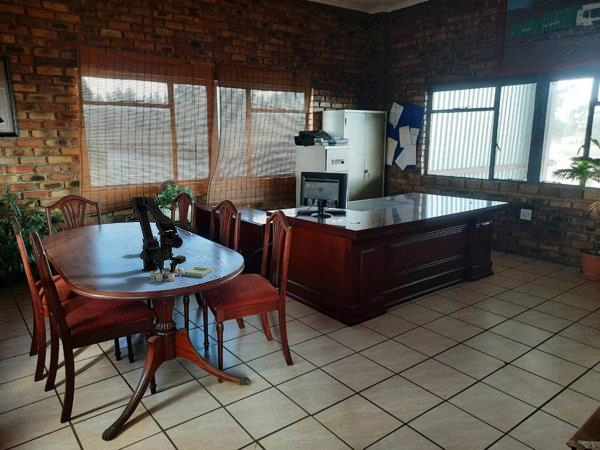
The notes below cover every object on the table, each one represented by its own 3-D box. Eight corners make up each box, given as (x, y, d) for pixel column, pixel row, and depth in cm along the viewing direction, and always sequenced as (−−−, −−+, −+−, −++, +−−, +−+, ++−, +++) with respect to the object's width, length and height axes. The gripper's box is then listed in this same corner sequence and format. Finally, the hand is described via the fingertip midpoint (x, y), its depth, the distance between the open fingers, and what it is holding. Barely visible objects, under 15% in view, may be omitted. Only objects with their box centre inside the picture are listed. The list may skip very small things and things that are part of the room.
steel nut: (159, 277, 221) (159, 269, 220) (165, 274, 225) (165, 267, 225) (168, 278, 219) (168, 270, 219) (174, 275, 224) (174, 268, 223)
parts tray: (184, 275, 224) (184, 271, 224) (194, 270, 234) (194, 266, 233) (202, 277, 222) (202, 273, 221) (211, 272, 231) (211, 268, 231)
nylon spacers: (145, 280, 216) (145, 273, 215) (164, 270, 232) (164, 263, 231) (169, 283, 213) (169, 276, 212) (187, 273, 229) (187, 266, 228)
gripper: (139, 246, 214) (141, 277, 217) (174, 250, 209) (175, 281, 212) (152, 241, 224) (154, 270, 227) (186, 244, 220) (186, 274, 223)
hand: (167, 274), depth 222 cm, fingers closed on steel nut, 5 cm apart
